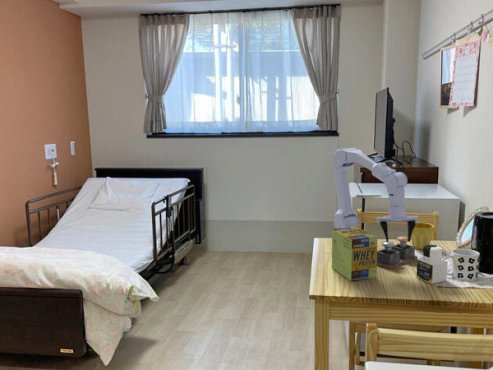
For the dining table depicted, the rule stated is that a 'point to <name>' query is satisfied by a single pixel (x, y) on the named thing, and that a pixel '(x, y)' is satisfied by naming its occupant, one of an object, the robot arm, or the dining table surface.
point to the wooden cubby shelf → (396, 256)
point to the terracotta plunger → (402, 241)
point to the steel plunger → (387, 246)
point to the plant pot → (422, 235)
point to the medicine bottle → (432, 265)
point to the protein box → (354, 253)
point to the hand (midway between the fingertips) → (398, 241)
